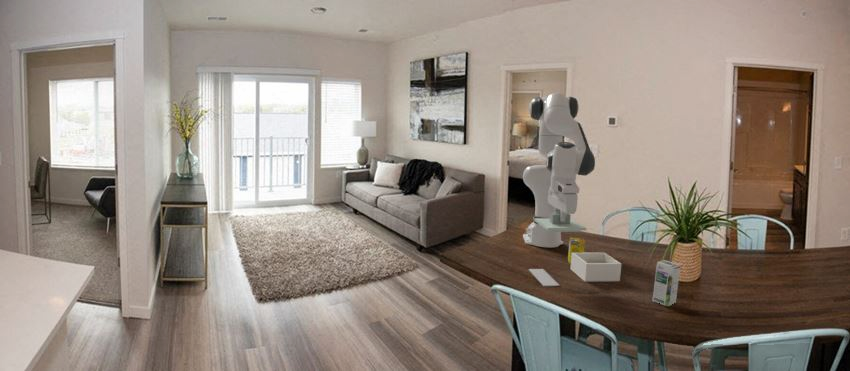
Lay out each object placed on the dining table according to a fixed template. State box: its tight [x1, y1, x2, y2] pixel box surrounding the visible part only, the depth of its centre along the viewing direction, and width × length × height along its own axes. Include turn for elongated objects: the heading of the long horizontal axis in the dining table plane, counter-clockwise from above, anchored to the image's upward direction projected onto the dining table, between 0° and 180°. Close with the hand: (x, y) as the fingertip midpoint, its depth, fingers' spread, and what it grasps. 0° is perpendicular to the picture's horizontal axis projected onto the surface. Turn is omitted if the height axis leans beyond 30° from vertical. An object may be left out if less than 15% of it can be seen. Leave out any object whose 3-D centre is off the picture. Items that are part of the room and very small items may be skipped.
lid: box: [534, 212, 588, 233], centre depth 186 cm, size 15×15×6 cm
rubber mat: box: [528, 268, 562, 287], centre depth 190 cm, size 18×16×1 cm
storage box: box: [570, 251, 622, 283], centre depth 191 cm, size 14×14×8 cm
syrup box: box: [651, 259, 682, 307], centre depth 167 cm, size 6×6×14 cm
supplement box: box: [567, 237, 586, 265], centre depth 206 cm, size 6×6×11 cm
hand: (559, 220), depth 186 cm, fingers closed on lid, 3 cm apart
